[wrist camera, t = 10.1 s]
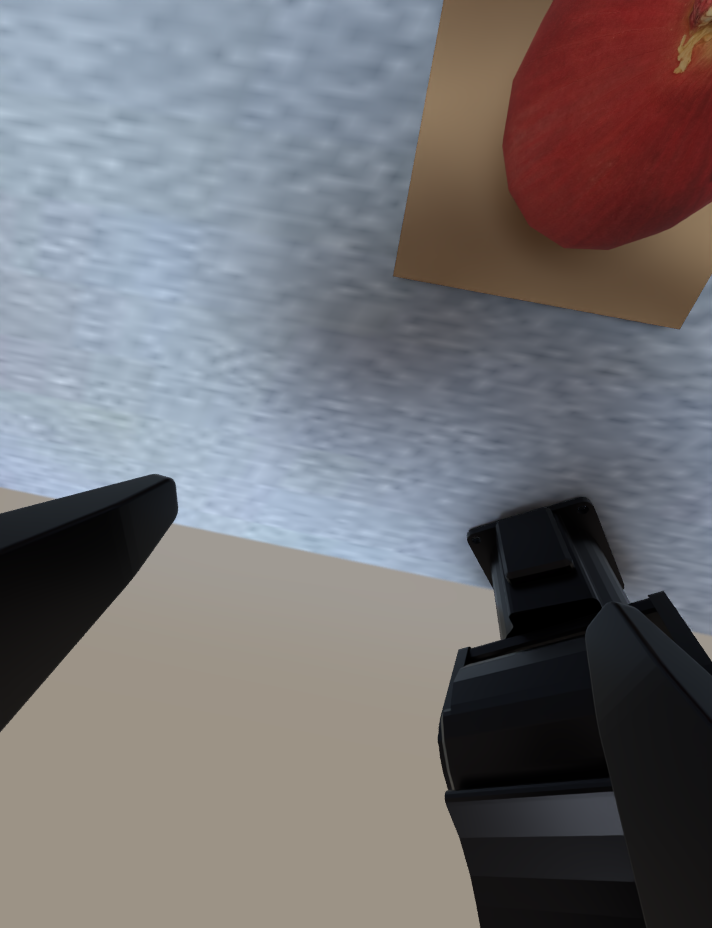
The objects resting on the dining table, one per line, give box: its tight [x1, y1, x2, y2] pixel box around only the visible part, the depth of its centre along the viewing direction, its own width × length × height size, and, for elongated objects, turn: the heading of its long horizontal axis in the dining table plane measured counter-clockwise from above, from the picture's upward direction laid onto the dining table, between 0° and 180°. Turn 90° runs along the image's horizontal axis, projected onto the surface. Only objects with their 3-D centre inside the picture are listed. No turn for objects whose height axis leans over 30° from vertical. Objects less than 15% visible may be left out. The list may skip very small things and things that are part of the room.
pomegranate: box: [502, 0, 712, 250], centre depth 8 cm, size 6×6×8 cm
